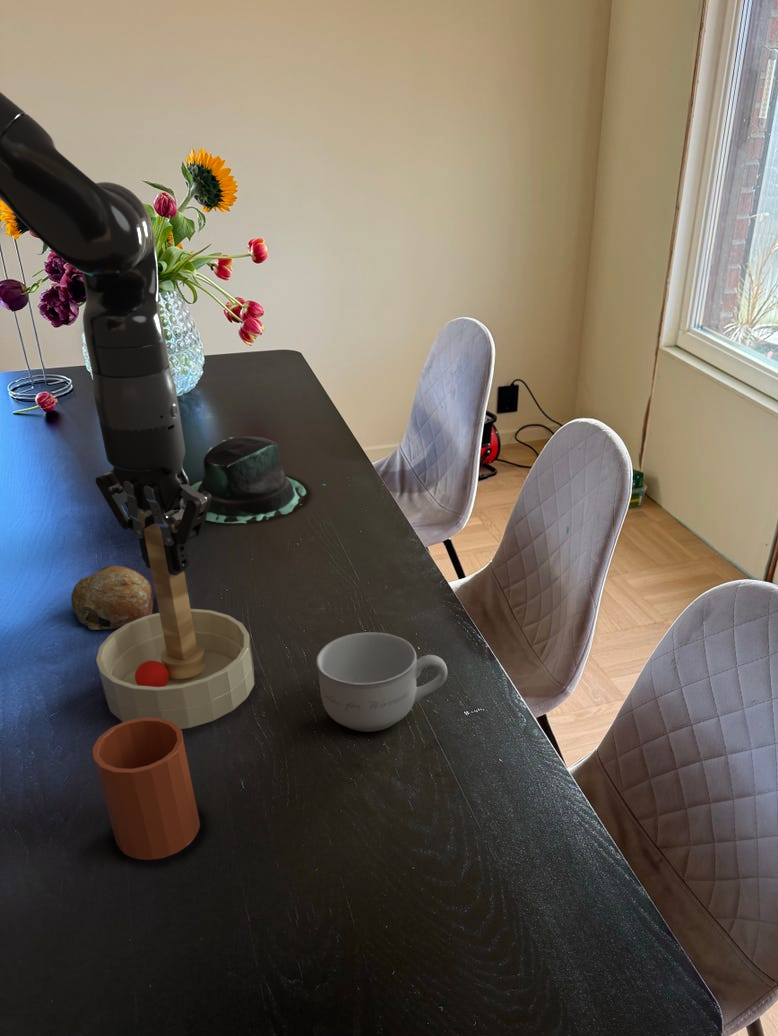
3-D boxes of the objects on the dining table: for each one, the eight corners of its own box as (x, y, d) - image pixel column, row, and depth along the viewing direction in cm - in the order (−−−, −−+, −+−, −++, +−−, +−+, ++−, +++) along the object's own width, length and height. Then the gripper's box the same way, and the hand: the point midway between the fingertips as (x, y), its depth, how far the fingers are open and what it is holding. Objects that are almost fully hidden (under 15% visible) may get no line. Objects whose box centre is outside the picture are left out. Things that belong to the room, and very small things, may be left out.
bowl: (75, 709, 98) (63, 665, 95) (173, 638, 111) (165, 597, 107) (193, 751, 93) (184, 705, 90) (282, 671, 105) (277, 629, 102)
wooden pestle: (154, 672, 102) (125, 531, 92) (182, 651, 106) (157, 514, 96) (188, 683, 100) (162, 541, 91) (214, 661, 104) (193, 523, 94)
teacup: (308, 738, 95) (302, 678, 91) (336, 680, 104) (332, 623, 100) (436, 753, 94) (436, 692, 89) (452, 693, 103) (453, 635, 98)
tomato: (137, 696, 100) (122, 673, 98) (156, 674, 103) (143, 652, 100) (161, 701, 99) (146, 678, 97) (180, 678, 101) (166, 656, 99)
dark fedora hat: (272, 528, 135) (154, 515, 139) (318, 535, 153) (213, 524, 157) (281, 429, 134) (162, 419, 138) (327, 448, 152) (220, 439, 156)
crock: (99, 848, 81) (73, 756, 75) (155, 797, 87) (134, 708, 81) (164, 874, 79) (141, 782, 73) (216, 820, 84) (200, 731, 78)
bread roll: (75, 647, 115) (52, 613, 108) (92, 582, 120) (71, 546, 113) (153, 647, 115) (135, 614, 108) (166, 583, 120) (149, 547, 114)
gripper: (55, 412, 86) (92, 569, 95) (170, 437, 81) (196, 599, 91) (111, 392, 92) (141, 541, 101) (221, 414, 87) (241, 568, 97)
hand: (167, 568), depth 96 cm, fingers closed on wooden pestle, 2 cm apart
